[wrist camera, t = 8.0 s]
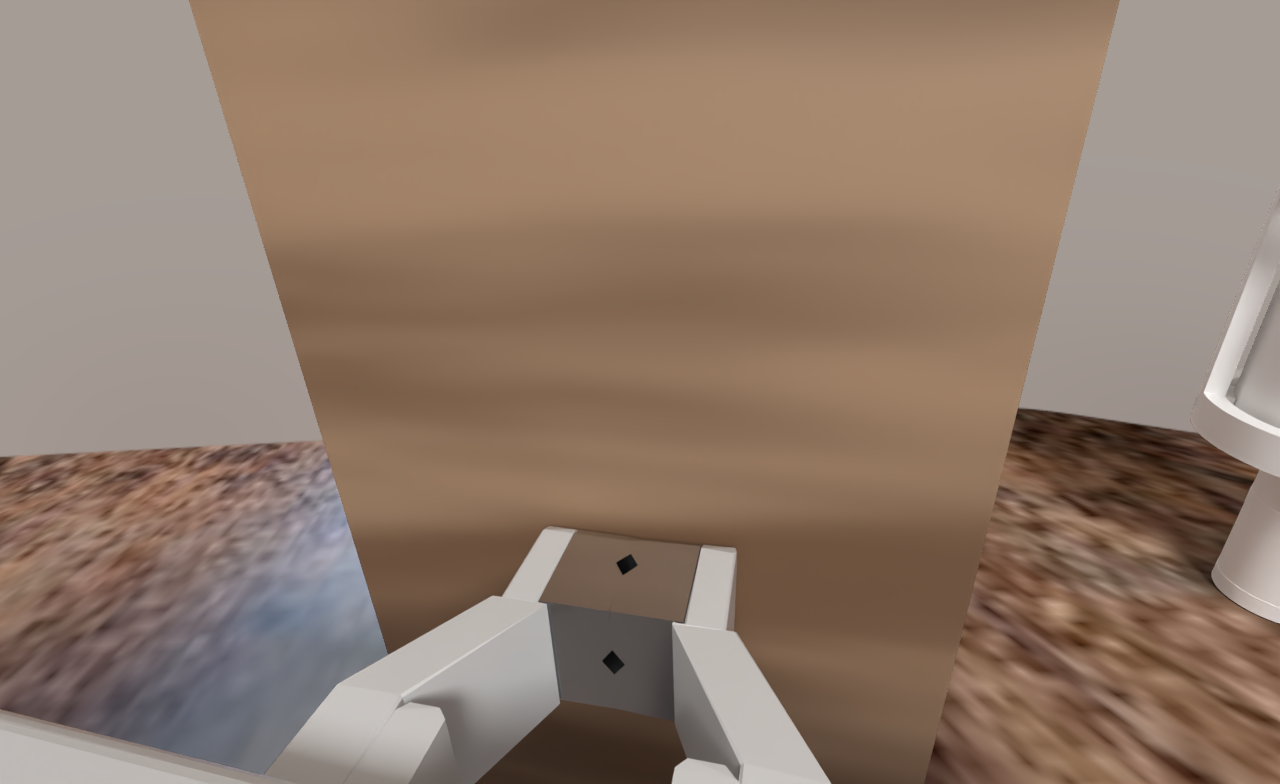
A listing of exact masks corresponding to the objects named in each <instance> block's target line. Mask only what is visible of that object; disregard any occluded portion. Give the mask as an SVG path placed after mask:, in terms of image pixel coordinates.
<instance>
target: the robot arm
mask: <svg viewBox="0 0 1280 784" xmlns="http://www.w3.org/2000/svg"><path fill="white" fill-rule="evenodd" d="M736 575H737V550H736V548H733V547H722V546H711V545H703V546H702V545H693V544H684V543H675V542H666V541H658V540H649V539H639V538H635V537H627V536H620V535H613V534H606V533H599V532H592V531H585V530H575V529H568V528H561V527H553V526H549V527H547V528H545V529H544V530H543V531H542V532H541V533H540V535H539V537H538V538H537V540H536V542H535V543H534V545H533V546H532V548H531V550H530V551H529V553H528V555H527V556H526V558H525V559H524V561H523V563H522V564H521V566H520V568H519V569H518V571H517V572H516V574H515V576H514V577H513V579H512V581H511V582H510V584H509V585H508V587H507V589H506V590H505V592H504V593H503V595H502V597H499V596H491V597H489V598H487V599H486V600H484V601H482V602H480V603H479V604H477V605H475V606H473V607H472V608H470V609H468V610H466V611H464V612H463V613H461V614H459V615H457V616H456V617H454V618H452V619H450V620H449V621H447V622H445V623H443V624H442V625H440V626H438V627H436V628H435V629H433V630H431V631H429V632H428V633H426V634H424V635H422V636H421V637H419V638H417V639H415V640H414V641H412V642H410V643H408V644H407V645H405V646H403V647H401V648H400V649H398V650H396V651H394V652H393V653H391V654H389V655H387V656H385V657H384V658H382V659H380V660H378V661H377V662H375V663H373V664H371V665H370V666H368V667H366V668H364V669H363V670H361V671H359V672H357V673H356V674H354V675H352V676H350V677H349V678H347V679H345V680H343V681H342V682H340V683H338V684H337V685H336V686H335V687H334V689H333V690H332V691H331V692H330V694H329V695H328V696H327V697H326V699H325V700H324V701H323V702H322V703H321V705H320V706H319V707H318V708H317V710H316V711H315V712H314V713H313V715H312V716H311V717H310V718H309V719H308V721H307V722H306V723H305V724H304V726H303V727H302V728H301V729H300V731H299V732H298V733H297V734H296V735H295V737H294V738H293V739H292V740H291V742H290V743H289V744H288V745H287V746H286V748H285V749H284V750H283V751H282V753H281V754H280V755H279V756H278V758H277V759H276V760H275V761H274V762H273V764H272V765H271V766H270V767H269V769H268V770H267V771H266V772H265V774H264V775H262V774H258V773H254V772H250V771H246V770H242V769H238V768H234V767H230V766H226V765H222V764H218V763H214V762H210V761H206V760H202V759H198V758H194V757H190V756H186V755H182V754H178V753H174V752H170V751H166V750H162V749H158V748H154V747H150V746H146V745H142V744H138V743H134V742H130V741H126V740H122V739H118V738H114V737H110V736H105V735H101V734H97V733H93V732H89V731H85V730H81V729H77V728H73V727H69V726H65V725H61V724H57V723H53V722H49V721H45V720H41V719H37V718H33V717H29V716H25V715H21V714H17V713H13V712H9V711H5V710H1V709H0V784H475V783H476V782H477V781H478V780H479V779H480V778H481V777H482V776H483V775H484V774H485V773H486V772H488V771H489V770H490V769H491V768H492V767H493V766H494V765H495V764H496V763H497V762H498V761H499V760H500V759H501V758H503V757H504V756H505V755H506V754H507V753H508V752H509V751H510V750H511V749H512V748H513V747H514V746H515V745H516V744H518V743H519V742H520V741H521V740H522V739H523V738H524V737H525V736H526V735H527V734H528V733H529V732H530V731H531V730H532V729H534V728H535V727H536V726H537V725H538V724H539V723H540V722H541V721H542V720H543V719H544V718H545V717H546V716H547V715H549V714H550V713H551V712H552V711H553V710H554V709H555V708H556V707H557V706H558V705H559V704H560V700H564V701H570V702H577V703H583V704H590V705H596V706H602V707H609V708H615V709H620V710H625V711H629V712H634V713H638V714H643V715H648V716H652V717H657V718H661V719H666V720H671V721H675V727H676V729H677V732H678V735H679V738H680V740H681V743H682V746H683V749H684V752H685V754H686V757H687V759H686V760H684V761H683V762H681V763H680V764H679V765H677V766H676V767H675V769H674V774H673V779H672V784H831V783H830V781H829V779H828V778H827V776H826V775H825V773H824V771H823V770H822V768H821V767H820V765H819V763H818V762H817V760H816V759H815V757H814V755H813V754H812V752H811V751H810V749H809V747H808V746H807V744H806V743H805V741H804V739H803V738H802V736H801V735H800V733H799V731H798V730H797V728H796V727H795V725H794V723H793V722H792V720H791V719H790V717H789V715H788V714H787V712H786V711H785V709H784V707H783V706H782V704H781V703H780V701H779V699H778V698H777V696H776V695H775V693H774V691H773V690H772V688H771V687H770V685H769V683H768V682H767V680H766V679H765V677H764V675H763V674H762V672H761V671H760V669H759V667H758V666H757V664H756V663H755V661H754V659H753V658H752V656H751V655H750V653H749V651H748V650H747V648H746V647H745V645H744V643H743V642H742V640H741V639H740V637H739V635H738V634H737V632H734V621H735V601H736Z"/></svg>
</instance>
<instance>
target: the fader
mask: <svg viewBox="0 0 1280 784" xmlns="http://www.w3.org/2000/svg"><path fill="white" fill-rule="evenodd" d="M1119 1H1120V0H189V2H190V6H191V9H192V12H193V15H194V19H195V22H196V25H197V29H198V32H199V35H200V38H201V42H202V45H203V48H204V51H205V55H206V58H207V61H208V65H209V68H210V71H211V74H212V77H213V81H214V84H215V88H216V91H217V94H218V97H219V100H220V104H221V107H222V111H223V114H224V117H225V120H226V124H227V127H228V130H229V133H230V136H231V140H232V143H233V147H234V150H235V153H236V156H237V160H238V163H239V166H240V170H241V173H242V176H243V179H244V183H245V186H246V189H247V193H248V196H249V199H250V202H251V205H252V209H253V212H254V215H255V219H256V222H257V225H258V229H259V232H260V235H261V238H262V242H263V245H264V248H265V252H266V255H267V258H268V261H269V265H270V268H271V271H272V275H273V278H274V281H275V284H276V288H277V291H278V294H279V298H280V301H281V304H282V307H283V311H284V314H285V317H286V320H287V324H288V327H289V330H290V334H291V337H292V340H293V343H294V347H295V350H296V353H297V357H298V360H299V363H300V366H301V370H302V373H303V376H304V380H305V383H306V386H307V389H308V393H309V396H310V399H311V402H312V405H313V409H314V412H315V416H316V419H317V422H318V425H319V429H320V432H321V435H322V439H323V442H324V445H325V448H326V452H327V455H328V458H329V462H330V465H331V468H332V471H333V475H334V478H335V481H336V485H337V488H338V491H339V494H340V498H341V501H342V504H343V507H344V511H345V514H346V517H347V521H348V524H349V527H350V530H351V534H352V537H353V540H354V544H355V547H356V550H357V553H358V557H359V560H360V563H361V567H362V570H363V573H364V576H365V580H366V583H367V586H368V590H369V593H370V596H371V599H372V603H373V606H374V609H375V612H376V616H377V619H378V622H379V626H380V629H381V632H382V635H383V639H384V642H385V645H386V649H387V652H388V655H389V654H391V653H393V652H394V651H396V650H398V649H400V648H401V647H403V646H405V645H407V644H408V643H410V642H412V641H414V640H415V639H417V638H419V637H421V636H422V635H424V634H426V633H428V632H429V631H431V630H433V629H435V628H436V627H438V626H440V625H442V624H443V623H445V622H447V621H449V620H450V619H452V618H454V617H456V616H457V615H459V614H461V613H463V612H464V611H466V610H468V609H470V608H472V607H473V606H475V605H477V604H479V603H480V602H482V601H484V600H486V599H487V598H489V597H491V596H499V597H502V595H503V593H504V592H505V590H506V589H507V587H508V585H509V584H510V582H511V581H512V579H513V577H514V576H515V574H516V572H517V571H518V569H519V568H520V566H521V564H522V563H523V561H524V559H525V558H526V556H527V555H528V553H529V551H530V550H531V548H532V546H533V545H534V543H535V542H536V540H537V538H538V537H539V535H540V533H541V532H542V531H543V530H544V529H545V528H547V527H549V526H553V527H561V528H568V529H575V530H585V531H592V532H599V533H606V534H613V535H620V536H627V537H635V538H639V539H649V540H658V541H666V542H675V543H684V544H693V545H702V546H703V545H711V546H722V547H733V548H736V550H737V575H736V601H735V621H734V632H737V634H738V635H739V637H740V639H741V640H742V642H743V643H744V645H745V647H746V648H747V650H748V651H749V653H750V655H751V656H752V658H753V659H754V661H755V663H756V664H757V666H758V667H759V669H760V671H761V672H762V674H763V675H764V677H765V679H766V680H767V682H768V683H769V685H770V687H771V688H772V690H773V691H774V693H775V695H776V696H777V698H778V699H779V701H780V703H781V704H782V706H783V707H784V709H785V711H786V712H787V714H788V715H789V717H790V719H791V720H792V722H793V723H794V725H795V727H796V728H797V730H798V731H799V733H800V735H801V736H802V738H803V739H804V741H805V743H806V744H807V746H808V747H809V749H810V751H811V752H812V754H813V755H814V757H815V759H816V760H817V762H818V763H819V765H820V767H821V768H822V770H823V771H824V773H825V775H826V776H827V778H828V779H829V781H830V783H831V784H924V783H925V779H926V775H927V771H928V767H929V763H930V759H931V755H932V751H933V747H934V743H935V739H936V735H937V731H938V727H939V723H940V719H941V715H942V711H943V707H944V703H945V699H946V694H947V690H948V686H949V682H950V678H951V674H952V670H953V666H954V662H955V658H956V654H957V650H958V646H959V642H960V638H961V634H962V630H963V626H964V622H965V618H966V614H967V610H968V606H969V602H970V598H971V594H972V590H973V586H974V582H975V578H976V574H977V570H978V566H979V562H980V558H981V554H982V550H983V546H984V542H985V538H986V534H987V530H988V526H989V522H990V518H991V514H992V510H993V506H994V502H995V498H996V494H997V490H998V486H999V482H1000V478H1001V474H1002V470H1003V466H1004V462H1005V458H1006V454H1007V450H1008V446H1009V442H1010V438H1011V434H1012V430H1013V426H1014V422H1015V418H1016V414H1017V410H1018V406H1019V402H1020V398H1021V393H1022V390H1023V386H1024V382H1025V377H1026V373H1027V370H1028V366H1029V362H1030V358H1031V354H1032V350H1033V346H1034V342H1035V338H1036V334H1037V329H1038V326H1039V322H1040V317H1041V313H1042V310H1043V306H1044V302H1045V297H1046V294H1047V290H1048V285H1049V281H1050V278H1051V274H1052V270H1053V265H1054V261H1055V257H1056V253H1057V249H1058V245H1059V241H1060V237H1061V233H1062V229H1063V225H1064V221H1065V217H1066V213H1067V209H1068V205H1069V201H1070V197H1071V193H1072V189H1073V185H1074V181H1075V177H1076V173H1077V169H1078V165H1079V161H1080V157H1081V153H1082V149H1083V145H1084V141H1085V137H1086V133H1087V129H1088V125H1089V121H1090V117H1091V113H1092V109H1093V105H1094V101H1095V97H1096V93H1097V89H1098V85H1099V81H1100V77H1101V73H1102V69H1103V65H1104V61H1105V57H1106V53H1107V49H1108V45H1109V41H1110V37H1111V33H1112V28H1113V25H1114V21H1115V17H1116V13H1117V9H1118V5H1119ZM686 759H687V757H686V754H685V752H684V749H683V746H682V743H681V740H680V738H679V735H678V732H677V729H676V727H675V721H671V720H666V719H661V718H657V717H652V716H648V715H643V714H638V713H634V712H629V711H625V710H620V709H615V708H609V707H602V706H596V705H590V704H583V703H577V702H570V701H564V700H560V704H559V705H558V706H557V707H556V708H555V709H554V710H553V711H552V712H551V713H550V714H549V715H547V716H546V717H545V718H544V719H543V720H542V721H541V722H540V723H539V724H538V725H537V726H536V727H535V728H534V729H532V730H531V731H530V732H529V733H528V734H527V735H526V736H525V737H524V738H523V739H522V740H521V741H520V742H519V743H518V744H516V745H515V746H514V747H513V748H512V749H511V750H510V751H509V752H508V753H507V754H506V755H505V756H504V757H503V758H501V759H500V760H499V761H498V762H497V763H496V764H495V765H494V766H493V767H492V768H491V769H490V770H489V771H488V772H486V773H485V774H484V775H483V776H482V777H481V778H480V779H479V780H478V781H477V782H476V783H475V784H672V779H673V774H674V769H675V767H676V766H677V765H679V764H680V763H681V762H683V761H684V760H686Z"/></svg>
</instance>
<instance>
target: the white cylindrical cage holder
mask: <svg viewBox="0 0 1280 784" xmlns="http://www.w3.org/2000/svg"><path fill="white" fill-rule="evenodd" d="M1279 263H1280V184H1279V187H1278V189H1277V192H1276V194H1275V197H1274V200H1273V202H1272V205H1271V207H1270V210H1269V212H1268V215H1267V218H1266V220H1265V223H1264V225H1263V228H1262V231H1261V233H1260V236H1259V238H1258V241H1257V244H1256V246H1255V249H1254V251H1253V254H1252V256H1251V259H1250V262H1249V264H1248V267H1247V269H1246V272H1245V274H1244V277H1243V280H1242V282H1241V285H1240V287H1239V290H1238V293H1237V295H1236V298H1235V300H1234V303H1233V306H1232V308H1231V311H1230V313H1229V316H1228V318H1227V321H1226V324H1225V326H1224V329H1223V331H1222V334H1221V337H1220V339H1219V342H1218V344H1217V347H1216V350H1215V352H1214V355H1213V357H1212V360H1211V362H1210V365H1209V368H1208V370H1207V373H1206V375H1205V378H1204V380H1203V383H1202V386H1201V388H1200V391H1199V393H1198V396H1197V399H1196V401H1195V404H1194V406H1193V409H1192V411H1191V414H1190V420H1191V423H1192V425H1193V427H1194V428H1195V430H1196V431H1197V432H1198V433H1199V434H1200V435H1201V436H1202V437H1203V438H1205V439H1206V440H1207V441H1208V442H1210V443H1211V444H1213V445H1214V446H1216V447H1217V448H1219V449H1220V450H1222V451H1224V452H1225V453H1227V454H1229V455H1231V456H1233V457H1235V458H1236V459H1238V460H1240V461H1242V462H1245V463H1247V464H1249V465H1251V466H1253V467H1255V468H1258V469H1260V470H1259V472H1258V474H1257V476H1256V478H1255V481H1254V483H1253V484H1252V485H1251V488H1250V490H1249V492H1248V494H1247V496H1246V498H1245V501H1244V504H1243V506H1242V509H1241V511H1240V513H1239V515H1238V517H1237V519H1236V522H1235V524H1234V526H1233V528H1232V530H1231V532H1230V535H1229V537H1228V539H1227V541H1226V543H1225V545H1224V548H1223V550H1222V552H1221V554H1220V556H1219V557H1218V559H1217V561H1216V563H1215V566H1214V568H1213V570H1212V572H1211V577H1212V580H1213V582H1214V584H1215V585H1216V586H1217V588H1218V589H1219V590H1220V591H1221V592H1222V593H1223V594H1224V595H1226V596H1227V597H1228V598H1229V599H1231V600H1232V601H1234V602H1235V603H1237V604H1238V605H1240V606H1241V607H1243V608H1245V609H1247V610H1249V611H1251V612H1253V613H1255V614H1257V615H1259V616H1261V617H1263V618H1266V619H1268V620H1271V621H1274V622H1276V623H1279V624H1280V281H1279V284H1278V286H1277V288H1276V291H1275V293H1274V295H1273V298H1272V301H1271V303H1270V305H1269V308H1268V310H1267V312H1266V315H1265V318H1264V320H1263V322H1262V324H1261V327H1260V329H1259V332H1258V334H1257V336H1256V339H1255V341H1254V344H1253V346H1252V349H1251V351H1250V353H1249V356H1248V358H1247V361H1246V363H1245V366H1244V368H1243V369H1237V366H1238V364H1239V361H1240V359H1241V356H1242V353H1243V351H1244V349H1245V346H1246V344H1247V342H1248V339H1249V337H1250V334H1251V331H1252V329H1253V327H1254V324H1255V322H1256V320H1257V317H1258V315H1259V312H1260V310H1261V307H1262V305H1263V302H1264V300H1265V297H1266V295H1267V293H1268V290H1269V288H1270V285H1271V283H1272V280H1273V278H1274V276H1275V273H1276V271H1277V268H1278V266H1279Z"/></svg>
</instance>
